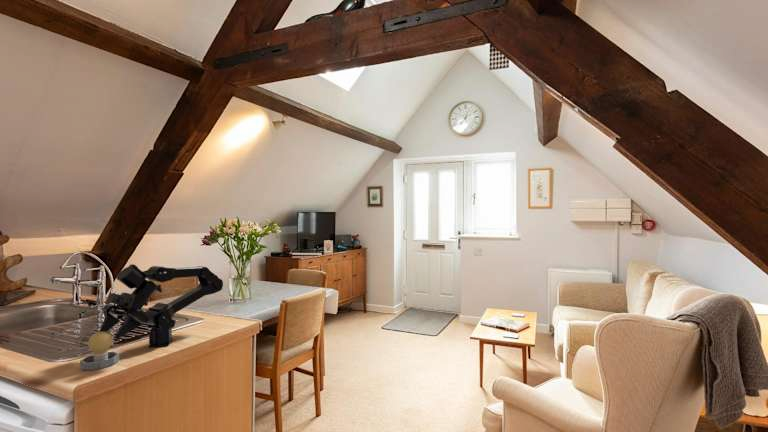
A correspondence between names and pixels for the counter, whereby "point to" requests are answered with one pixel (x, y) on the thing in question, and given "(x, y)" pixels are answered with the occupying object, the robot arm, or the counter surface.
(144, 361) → the counter surface
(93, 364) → the saucer
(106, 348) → the light bulb
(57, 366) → the counter surface
